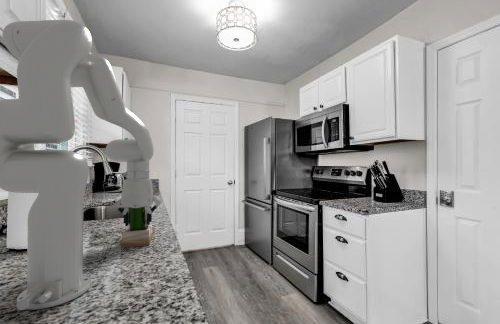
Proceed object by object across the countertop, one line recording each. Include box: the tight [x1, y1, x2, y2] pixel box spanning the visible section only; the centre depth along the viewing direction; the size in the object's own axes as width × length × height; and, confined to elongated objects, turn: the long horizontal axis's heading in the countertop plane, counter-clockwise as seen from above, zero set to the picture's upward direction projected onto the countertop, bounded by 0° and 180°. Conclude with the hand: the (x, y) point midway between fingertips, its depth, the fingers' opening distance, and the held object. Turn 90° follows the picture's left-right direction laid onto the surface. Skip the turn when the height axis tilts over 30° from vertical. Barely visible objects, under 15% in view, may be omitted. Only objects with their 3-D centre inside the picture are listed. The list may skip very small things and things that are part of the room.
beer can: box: [128, 205, 146, 231], centre depth 87 cm, size 5×5×12 cm
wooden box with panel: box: [120, 207, 156, 248], centre depth 91 cm, size 16×9×11 cm, turn 16°
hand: (137, 224), depth 88 cm, fingers open, 6 cm apart
